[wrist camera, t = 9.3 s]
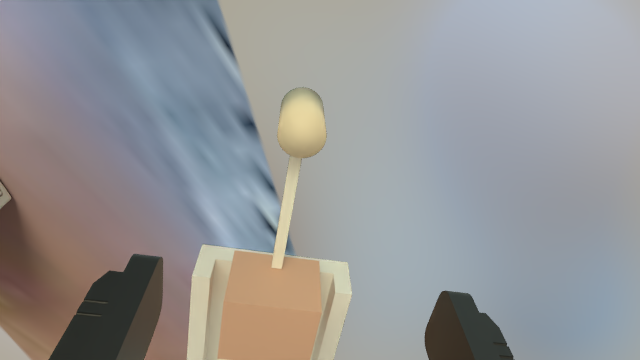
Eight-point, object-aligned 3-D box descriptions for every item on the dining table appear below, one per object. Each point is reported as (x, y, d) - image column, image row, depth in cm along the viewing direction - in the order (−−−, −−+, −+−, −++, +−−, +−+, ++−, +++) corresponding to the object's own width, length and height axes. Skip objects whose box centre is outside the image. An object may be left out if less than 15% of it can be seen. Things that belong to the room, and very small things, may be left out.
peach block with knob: (255, 79, 27) (243, 114, 21) (354, 95, 27) (366, 134, 22) (230, 294, 35) (217, 358, 29) (307, 302, 35) (308, 367, 30)
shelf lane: (202, 244, 33) (192, 275, 30) (347, 262, 34) (352, 294, 31) (193, 363, 39) (184, 400, 36) (317, 375, 41) (318, 411, 37)
